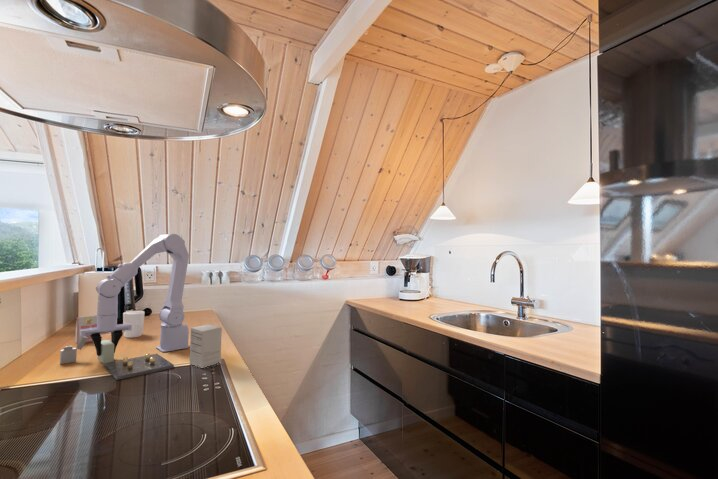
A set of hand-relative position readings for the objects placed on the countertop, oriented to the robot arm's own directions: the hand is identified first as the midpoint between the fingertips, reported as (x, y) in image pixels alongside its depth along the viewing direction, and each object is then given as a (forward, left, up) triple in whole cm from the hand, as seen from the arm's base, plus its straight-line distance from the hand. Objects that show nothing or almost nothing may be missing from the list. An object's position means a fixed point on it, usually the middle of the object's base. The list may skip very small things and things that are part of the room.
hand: (105, 353), depth 126 cm
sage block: (0, 0, -2) cm, 2 cm away
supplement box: (-23, +26, -2) cm, 35 cm away
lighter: (+8, -5, -2) cm, 10 cm away
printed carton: (0, -31, -2) cm, 31 cm away
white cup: (-16, -29, -2) cm, 33 cm away
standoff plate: (-6, +15, -2) cm, 16 cm away
